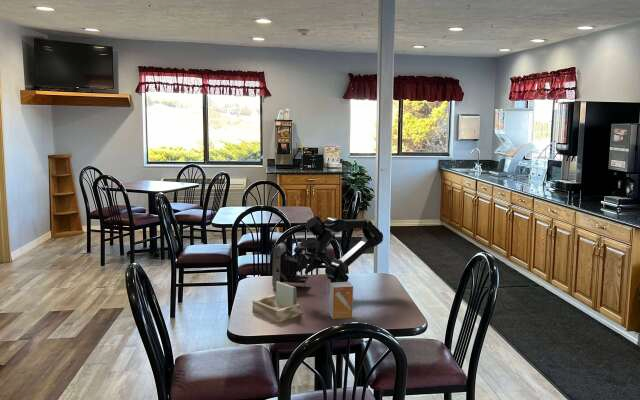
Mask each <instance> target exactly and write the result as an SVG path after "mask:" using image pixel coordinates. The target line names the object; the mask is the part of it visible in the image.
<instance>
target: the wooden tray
mask: <svg viewBox="0 0 640 400" xmlns="http://www.w3.org/2000/svg"><path fill="white" fill-rule="evenodd" d="M251 302H252V312H253V313H255V314H257V315H259V316H262V317H264V318H267V319H269V320H270V321H274V322H276V323H281V322H283V321H284V322H285V321H287V320H290V319H293V318H296V317H298V316H299V317H300V316H301V315H302V311H300V310H301V309H300V307H301V304H300V303H296V304H295V305H292V306H289V307H282V306H280V305H277V304H276V294H272V295H269V296H268V295H267V296H264V297H261V298H258V299H254V300H252V301H251Z"/></svg>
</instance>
